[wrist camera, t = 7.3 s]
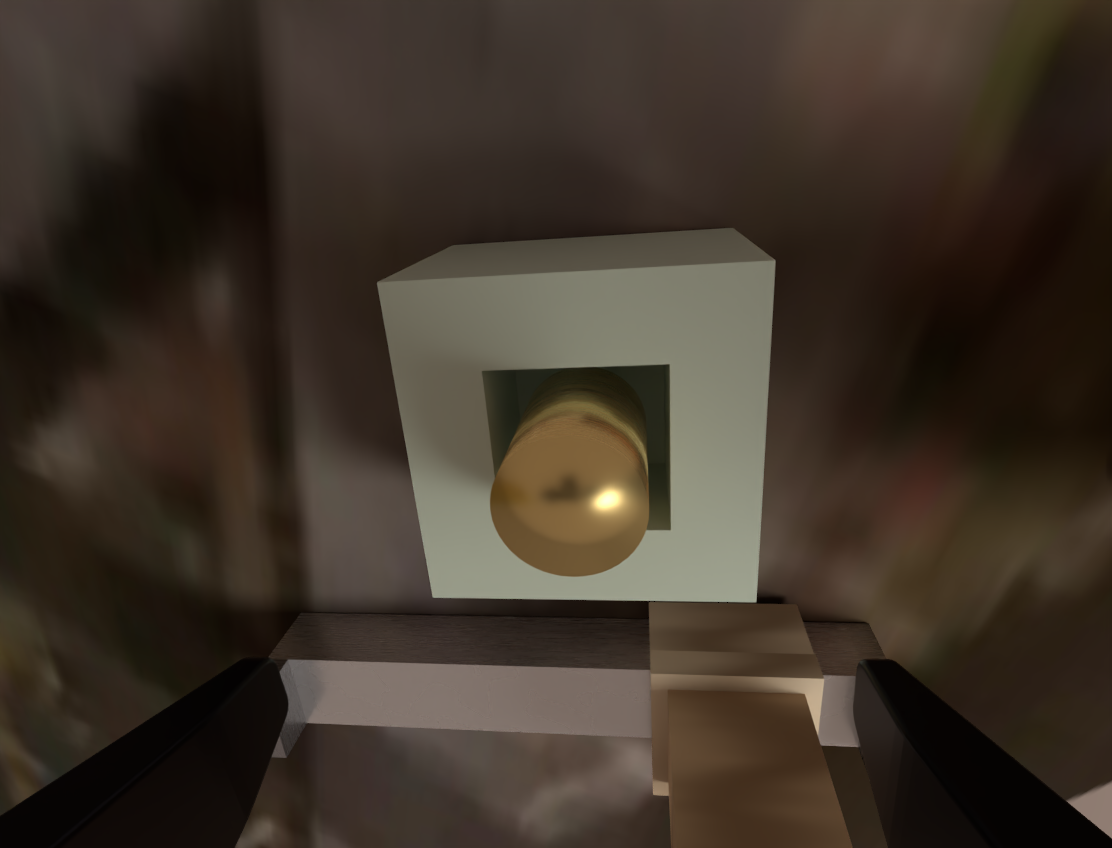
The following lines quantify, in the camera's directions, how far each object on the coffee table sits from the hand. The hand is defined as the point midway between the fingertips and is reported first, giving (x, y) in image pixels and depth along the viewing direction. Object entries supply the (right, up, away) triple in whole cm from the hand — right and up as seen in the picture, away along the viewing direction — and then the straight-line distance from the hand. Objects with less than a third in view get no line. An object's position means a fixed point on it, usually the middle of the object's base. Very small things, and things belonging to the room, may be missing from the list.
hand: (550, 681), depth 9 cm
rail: (+1, -5, +15) cm, 16 cm away
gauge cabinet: (+1, +5, +11) cm, 12 cm away
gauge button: (+1, +4, +7) cm, 8 cm away
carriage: (+6, -5, +14) cm, 16 cm away
